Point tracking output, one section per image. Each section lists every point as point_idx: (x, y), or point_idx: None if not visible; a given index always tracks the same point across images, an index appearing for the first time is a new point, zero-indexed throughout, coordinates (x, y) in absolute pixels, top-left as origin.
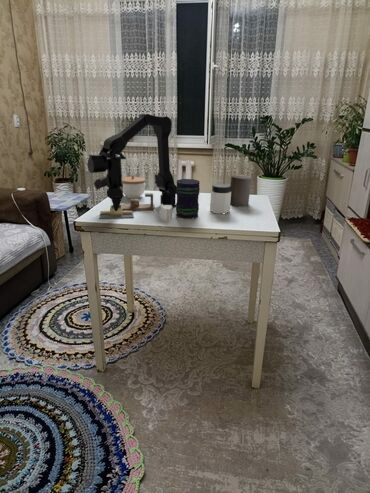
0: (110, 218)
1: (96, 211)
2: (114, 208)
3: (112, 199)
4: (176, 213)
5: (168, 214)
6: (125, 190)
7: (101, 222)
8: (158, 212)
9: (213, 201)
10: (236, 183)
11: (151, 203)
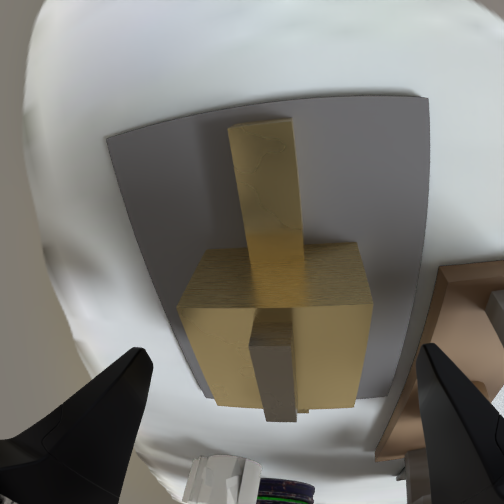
0: (147, 249)
1: (443, 42)
2: (111, 367)
3: (21, 446)
4: (270, 487)
5: (187, 483)
6: None
7: (40, 189)
8: (232, 476)
9: None
10: None
11: (408, 468)
